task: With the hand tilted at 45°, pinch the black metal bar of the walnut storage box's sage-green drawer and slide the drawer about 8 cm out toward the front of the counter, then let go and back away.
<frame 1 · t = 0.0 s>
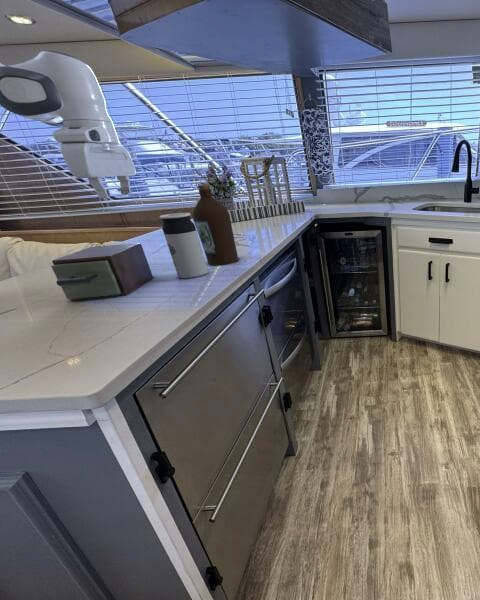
hand: (116, 196, 83), 24 cm above the worktop, tool pointing down, fingers open, 8 cm apart
storage box: (115, 287, 90), on the worktop
drawer: (97, 274, 84), point 5 cm above the worktop, slide at 0.5 cm
olive oil: (223, 262, 111), on the worktop
travel mug: (193, 275, 98), on the worktop
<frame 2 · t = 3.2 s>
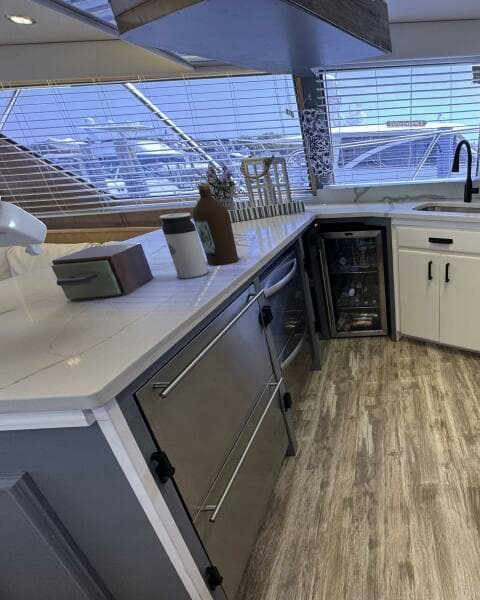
hand: (9, 254, 62), 16 cm above the worktop, tool tilted 45°, fingers open, 8 cm apart
nothing on the worktop moved.
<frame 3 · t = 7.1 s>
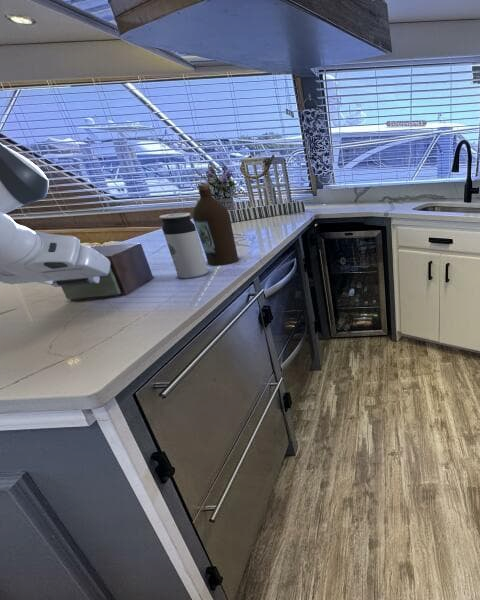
hand: (78, 282, 77), 6 cm above the worktop, tool tilted 45°, fingers closed on drawer, 6 cm apart
drawer: (97, 274, 84), point 5 cm above the worktop, slide at 0.5 cm, touching gripper
everything else where it was.
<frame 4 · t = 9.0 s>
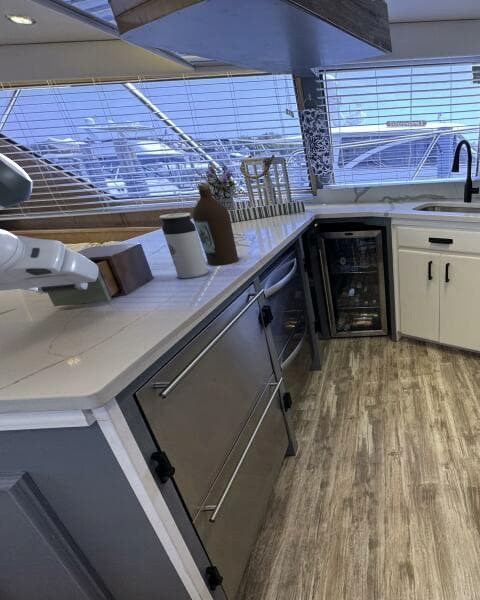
hand: (65, 288, 73), 6 cm above the worktop, tool tilted 45°, fingers closed on drawer, 6 cm apart
drawer: (86, 280, 80), point 5 cm above the worktop, slide at 4.8 cm, touching gripper
everything else where it was.
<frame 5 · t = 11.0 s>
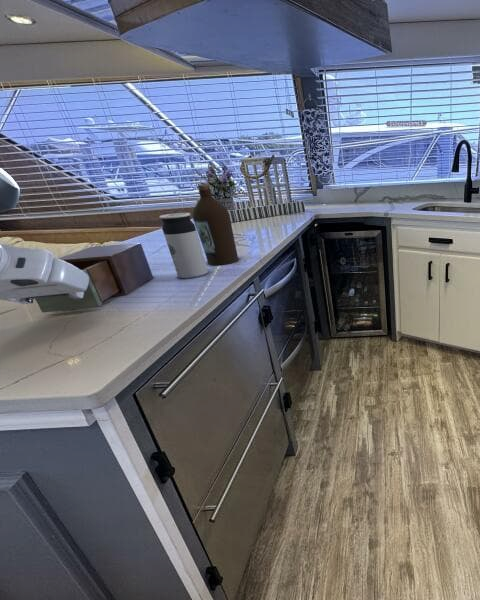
hand: (55, 298, 70), 5 cm above the worktop, tool tilted 45°, fingers open, 8 cm apart
drawer: (76, 285, 77), point 5 cm above the worktop, slide at 8.4 cm
everything else where it was.
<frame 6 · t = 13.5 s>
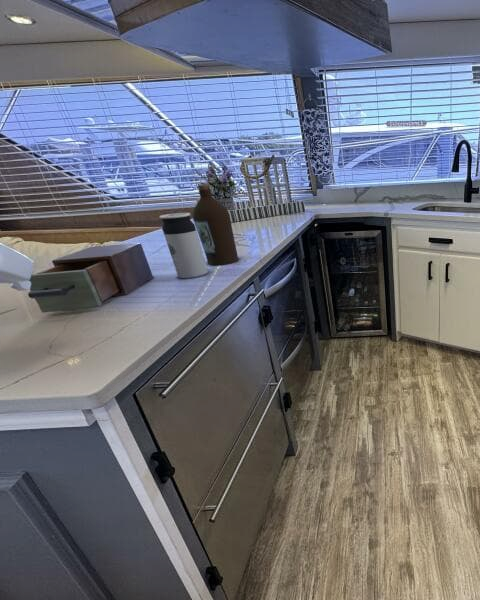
nothing on the worktop moved.
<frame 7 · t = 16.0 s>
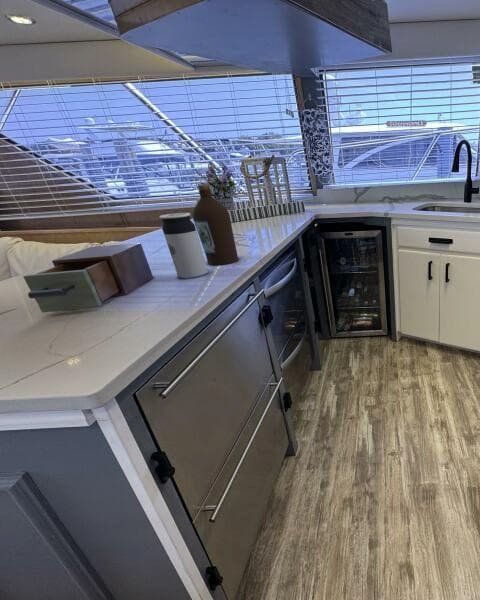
nothing on the worktop moved.
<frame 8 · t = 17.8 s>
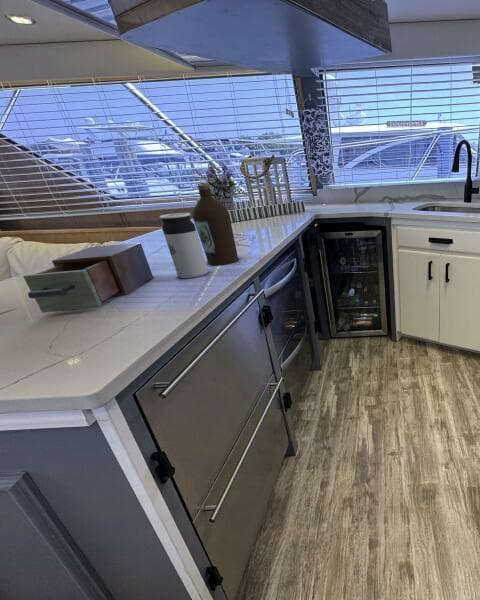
nothing on the worktop moved.
at the end: drawer slide at 8.4 cm; the gripper is holding nothing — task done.
